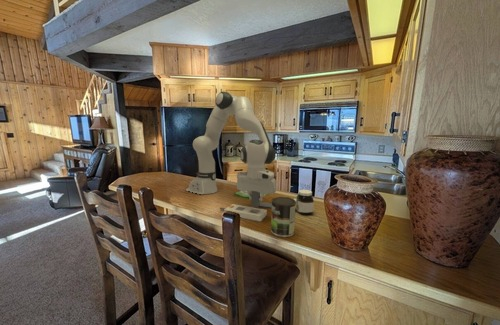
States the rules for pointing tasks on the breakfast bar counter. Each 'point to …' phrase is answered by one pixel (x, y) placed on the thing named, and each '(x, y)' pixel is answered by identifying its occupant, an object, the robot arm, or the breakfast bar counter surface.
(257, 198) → the charger plug
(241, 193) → the dish towel
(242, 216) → the power strip
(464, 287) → the breakfast bar counter surface
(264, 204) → the phone slab
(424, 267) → the breakfast bar counter surface
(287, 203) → the coffee can
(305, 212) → the spread jar
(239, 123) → the robot arm
